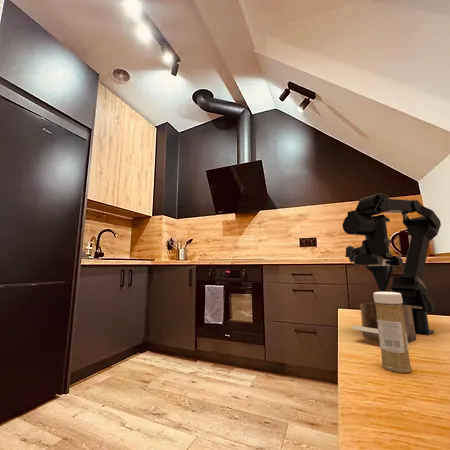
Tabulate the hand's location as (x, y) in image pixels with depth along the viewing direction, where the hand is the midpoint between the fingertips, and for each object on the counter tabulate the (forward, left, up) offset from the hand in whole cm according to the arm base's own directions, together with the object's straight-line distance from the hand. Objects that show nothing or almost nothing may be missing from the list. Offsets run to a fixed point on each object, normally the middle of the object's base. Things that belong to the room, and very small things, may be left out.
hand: (382, 291), depth 70 cm
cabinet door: (+6, +1, -10) cm, 12 cm away
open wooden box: (+2, +1, -12) cm, 12 cm away
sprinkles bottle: (+25, +10, -12) cm, 30 cm away
